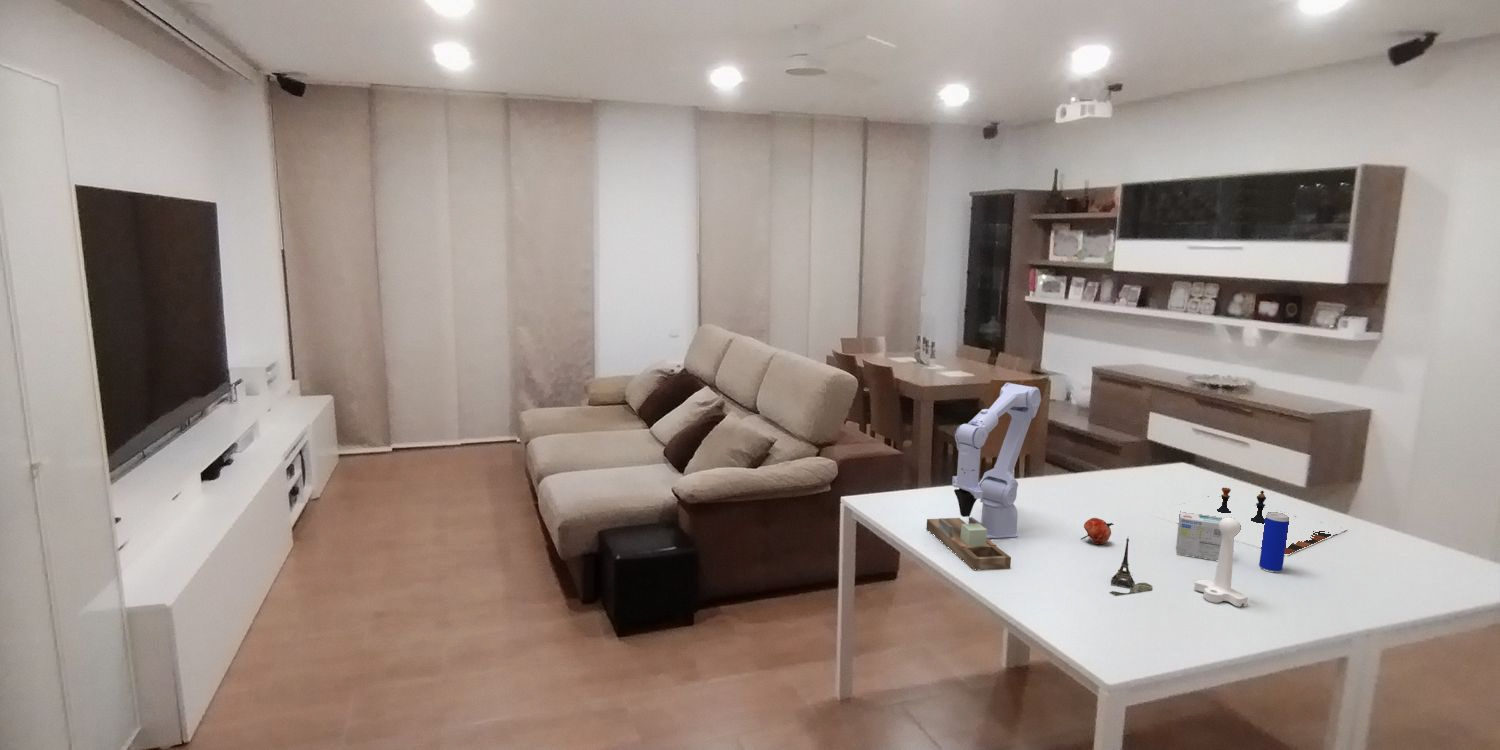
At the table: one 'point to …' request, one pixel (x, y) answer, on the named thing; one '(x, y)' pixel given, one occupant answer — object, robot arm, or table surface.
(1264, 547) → the beverage can
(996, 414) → the robot arm
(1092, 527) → the pomegranate
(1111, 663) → the table surface
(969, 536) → the green block
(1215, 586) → the joystick
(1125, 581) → the eiffel tower figurine
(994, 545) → the brown wooden long tray
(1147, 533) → the table surface
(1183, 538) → the light bulb box
